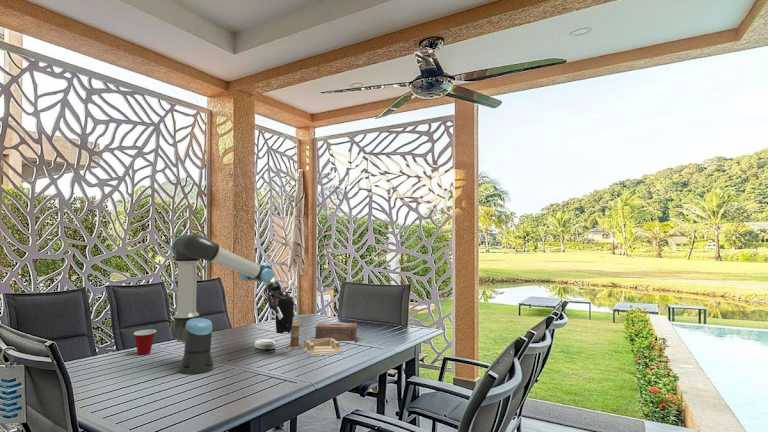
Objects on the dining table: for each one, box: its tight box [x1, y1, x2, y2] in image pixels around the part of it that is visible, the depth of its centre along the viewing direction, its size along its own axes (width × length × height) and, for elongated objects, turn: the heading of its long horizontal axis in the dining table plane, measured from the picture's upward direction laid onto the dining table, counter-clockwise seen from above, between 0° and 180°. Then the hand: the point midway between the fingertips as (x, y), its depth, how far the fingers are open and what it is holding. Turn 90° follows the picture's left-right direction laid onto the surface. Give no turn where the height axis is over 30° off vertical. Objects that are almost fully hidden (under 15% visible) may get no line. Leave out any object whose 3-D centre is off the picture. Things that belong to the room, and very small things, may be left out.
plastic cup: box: [133, 328, 157, 356], centre depth 224 cm, size 11×11×12 cm
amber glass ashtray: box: [301, 338, 344, 355], centre depth 240 cm, size 18×19×6 cm
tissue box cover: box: [314, 321, 358, 342], centre depth 272 cm, size 26×14×10 cm, turn 91°
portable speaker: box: [275, 295, 295, 334], centre depth 230 cm, size 9×9×20 cm
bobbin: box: [286, 321, 304, 350], centre depth 247 cm, size 8×8×14 cm
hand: (288, 317), depth 227 cm, fingers closed on portable speaker, 9 cm apart
